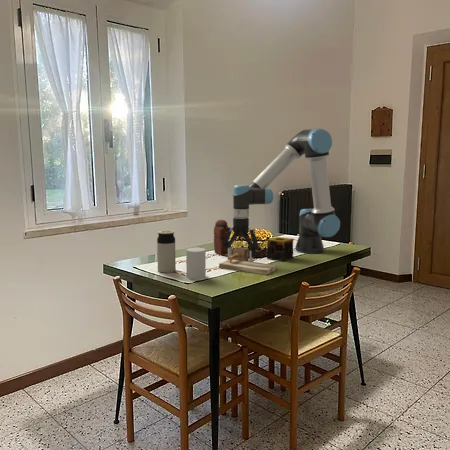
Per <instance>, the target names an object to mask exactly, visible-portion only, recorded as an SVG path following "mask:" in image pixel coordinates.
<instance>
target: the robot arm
mask: <svg viewBox="0 0 450 450" xmlns="http://www.w3.org/2000/svg"><path fill="white" fill-rule="evenodd" d="M332 146H333V138H332V136H331V134H330V132H328V131H327V130H326V129H323V128H311V129H303V130H301V131H299V132H298V133H297V134H296V135H295V136H293V137H292V138H291V139H290V140H289V141H288V142H287V143H286V144H285V146H284V149H283V150H282V151H281V152H280V153H279V154H278V155H277V156H276V157H275V158H274V159H273V160H272V161H271V162H270V163H269V165H267V166H266V167H265V168H264V169H263V170H262V171H261V172H260V174H258V175H257V176H256V178H255V179H253V181H251V182H250V183H249V184H235V185H234V187H233V193H232V198H233V201H232V206H233V208H232V210H233V211H232V216H233V218H232V225H233V226H228V228H227V234H226V237H225V240H224V243H223V246H225V247H226V253H227V254H228V255H227V257H228V256H230V255H233V248H232V244H233V243H234V241H236V238H237V237H239V238H243V239H244V240H245V241H246V243H247V245H248V248H249V249H250V250H249V261H250V262H254V258H255V257H256V251H257V250H259V249H260V246H259V243H258V240H257V236H256V229H255V228H250V227H249V225H250V222H249V221H250V220H249V219H250V218H249V217H250V205H252V206H253V205H265V206H266V205H270V204H272V203H273V200H274V192H273V190H272V189H271V188H269V186H270V185H271V184H272V183H274V181H276V179H277V178H278V177H280V175H281V174H282V173H283V172H284V171H285V170H286V169H287V168H288V167H289V166H290V165H291V164H292V163H293V162H294V161H295V160H297V159H299V158H301V157H302V156H303V155H304V158H305V160H307V162H308V167H309V174H310V175H309V176H310V184H311V192H312V194H311V195H312V202H313V208H302V209H301V210H300V211H299V228H298V231H299V233H298V238H297V241H296V244H295V251H296V252H298V253H301V254H321V253H323V252H324V251H325V248H324V247H325V246H324V243H323V240H322V237H323V238H324V237H325V238H331V237H333V236H335V235H336V234H337V233H338V232H339V230H340V227H341V221H340V218H339V217H338V216H337V215H336V212H335V210H336V209H335V208H334V207H333V206H332V202H331V193H330V182H329V173H328V171H329V170H328V163H327V158H329V156H330V150H331V148H332ZM232 232H233V234H232ZM231 234H232V236H231ZM249 234H250V235H249ZM228 241H229V242H228Z"/></svg>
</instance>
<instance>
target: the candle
mask: <svg viewBox="0 0 450 450" xmlns="http://www.w3.org/2000/svg"><path fill="white" fill-rule="evenodd" d="M266 242H267V243H266V244H267V246H266V249H267V250H266V259H267V260H270V261H271V260H272V261H279V262H286V261H289V260H290V259H291V260H292V259H293V257H294V238H290V237H280V236H275V237H271V238H268V239H267V240H266Z"/></svg>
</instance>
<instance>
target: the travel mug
mask: <svg viewBox="0 0 450 450" xmlns="http://www.w3.org/2000/svg"><path fill="white" fill-rule="evenodd" d="M174 234H175V230H172V229H163V230H158V231H157V235H158V236H157V239H156V248H157V249H156V250H157V253H156V254H157V272H159V273H162V274H163V273H164V274H166V273H173V272H175V271H176V262H177V261H176V237H175V235H174Z"/></svg>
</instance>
